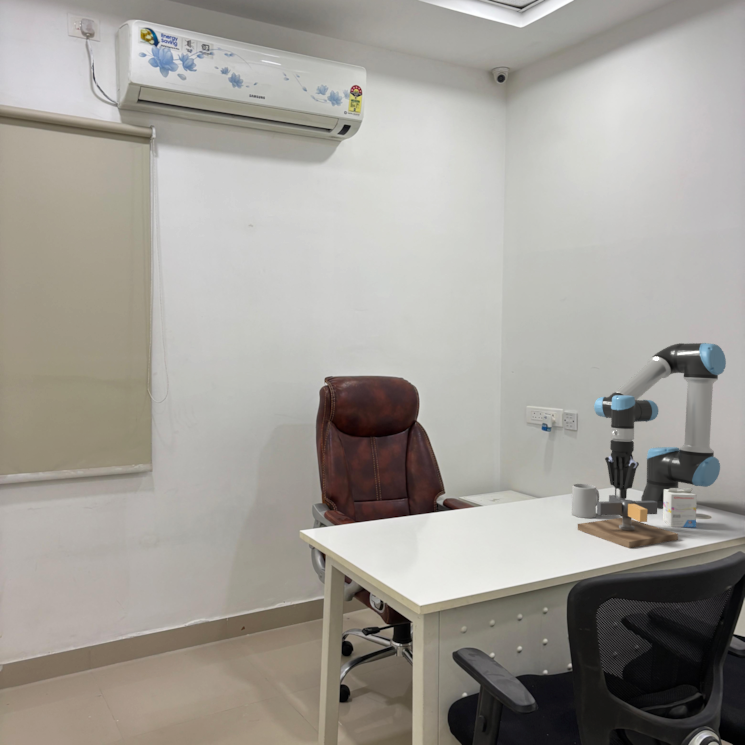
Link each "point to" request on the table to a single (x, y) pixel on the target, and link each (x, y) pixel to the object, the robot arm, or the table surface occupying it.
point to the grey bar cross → (627, 508)
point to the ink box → (679, 507)
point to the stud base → (627, 532)
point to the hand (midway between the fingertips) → (620, 507)
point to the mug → (584, 500)
